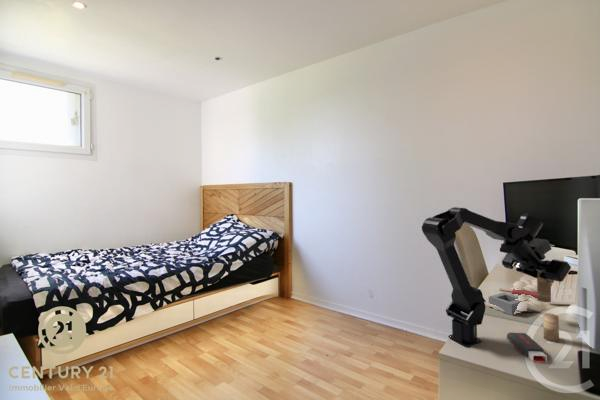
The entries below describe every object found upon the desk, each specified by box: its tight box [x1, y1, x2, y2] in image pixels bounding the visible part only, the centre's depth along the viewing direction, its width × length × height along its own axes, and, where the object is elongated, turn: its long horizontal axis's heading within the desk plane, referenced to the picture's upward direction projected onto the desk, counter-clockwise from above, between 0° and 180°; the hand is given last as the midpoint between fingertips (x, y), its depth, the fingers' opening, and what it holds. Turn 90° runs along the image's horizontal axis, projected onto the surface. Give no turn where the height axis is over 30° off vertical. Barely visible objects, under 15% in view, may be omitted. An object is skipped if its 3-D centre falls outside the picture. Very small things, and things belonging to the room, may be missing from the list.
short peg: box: [542, 312, 560, 343], centre depth 90 cm, size 4×4×7 cm
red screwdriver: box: [498, 287, 538, 299], centre depth 126 cm, size 4×2×15 cm
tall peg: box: [536, 259, 552, 303], centre depth 101 cm, size 4×4×13 cm
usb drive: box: [506, 332, 548, 363], centre depth 86 cm, size 5×12×3 cm, turn 169°
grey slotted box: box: [488, 292, 528, 316], centre depth 112 cm, size 8×8×4 cm
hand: (546, 280), depth 101 cm, fingers closed on tall peg, 3 cm apart
